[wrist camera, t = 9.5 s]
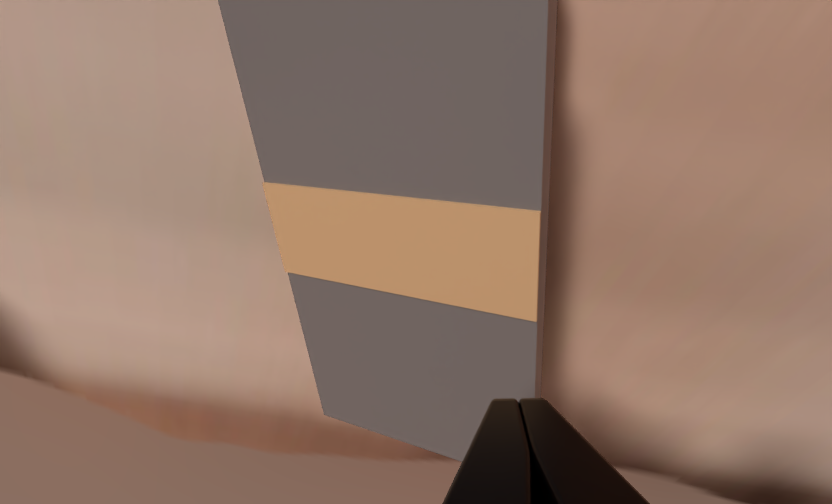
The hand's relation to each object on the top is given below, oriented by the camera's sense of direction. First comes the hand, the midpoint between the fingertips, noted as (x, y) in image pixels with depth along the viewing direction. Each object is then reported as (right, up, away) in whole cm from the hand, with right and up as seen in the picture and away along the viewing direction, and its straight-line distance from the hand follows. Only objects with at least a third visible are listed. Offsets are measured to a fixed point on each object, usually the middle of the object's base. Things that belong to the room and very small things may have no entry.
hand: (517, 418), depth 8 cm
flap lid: (-2, +3, +6) cm, 7 cm away
